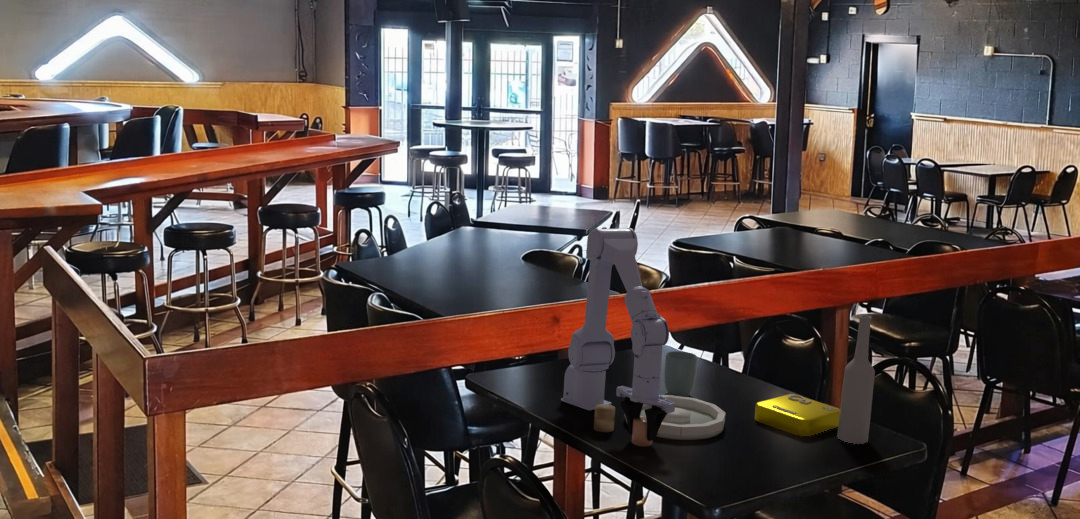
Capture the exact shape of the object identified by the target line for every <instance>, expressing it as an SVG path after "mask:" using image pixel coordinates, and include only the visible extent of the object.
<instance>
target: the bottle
mask: <svg viewBox="0 0 1080 519" xmlns="http://www.w3.org/2000/svg"><path fill="white" fill-rule="evenodd" d="M858 318H859V320H858V331H857V340H856V344H855V345H856V346H855V352H854V357H853V359H852V360H851V361H849V362H848V363H847V364H846V366H845V368H844V373H843V381H842V390H841V397H840V407H839V409H840V414H839V423H838V428H837V435H836V438H837V437H838V438H837V439H840V440H842V441H844V442H843V443H845V442H848V443H847V444H849V443H853V444H852V445H855V444H858V445H859V444H862V445H865V444H864V443H866V442H867V443H868V442H869V434H870V433H869V432H870V424H871V415H872V405H873V394H874V385H875V384H874V383H875V374H876V371H875V369H874V367H873V366H872V364H871V362H870V361H869V346H870V345H869V344H870V343H869V342H870V334H871V324H872V323H871V322H872V320H873V317H872V316H871V315H868V314H867V315H865V314H860V315H859V316H858ZM840 440H839V441H840ZM842 441H841V442H842ZM867 443H866V444H867Z"/></svg>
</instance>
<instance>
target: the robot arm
mask: <svg viewBox="0 0 1080 519" xmlns="http://www.w3.org/2000/svg"><path fill="white" fill-rule="evenodd" d="M586 240H587V241H586V251H585V252H586V255H585V258H586V260H589V270H588V282H587V290H586V291H587V292H586V304H585V313H584V324H583V326H582V327H580V328H578V329H577V330H575V331H574V332H573V333H572V335H571V339H570V344H569V346H568V350H567V353H568V354H567V355H568V360H569V363H570V364H569V366H567V368H566V369H565V372H564V378H563V379H564V381H563V397H561V399H560V401H561V402H564V403H567V404H569V405H571V406H572V405H573V406H575V407H578V408H580V409H584V410H586V411H592V410H594V411H595V406H596V405H598V404H609V405H612V402H611V401H608V400H605V390H606V371H607V370H608V369H609V366H610V365H612V364H613V362H614V359H615V356H616V349H615V345H614V344H615V337H614V336H613V334H612V332H610V330H609V331H608V329H607V318H608V310H609V300H610V290H611V279H612V278H611V277H612V268H613V265H614V267H615V269H616V271H617V273H618V275H619V277H620V280H621V281H622V284H623V287H624V288H625V291H626V294H625V296H624V303H625V306H626V310H627V313H628V315H629V318H630V322H631V324H632V325H631V329H630V339H631V343H632V346H631V347H632V353H633V354H634V355H633V356H634V357H633V358H634V359H633V372H632V374H633V375H632V385H631V386H632V387H628V386H624V385H621V386H617V387H616V391H615V392H616V393H615V396H616V397H618V398H621V397H622V398H624V399H623V400H622V401H621V402H620V407H621V408H622V410H623V412H624V414H625V416H626V417H625V416H624V417H625V420H626V419H627V422H626V424H627V423H628V424H627V427H628V428H627V429H628V432H629V434H630V435H632V431H633V419H634V418H636V417H640V414H641V410H642V407H643V404H646V405H649V406H652V408H649V409H646V410H645V414H646V419H647V440H648V441H652V440H653V441H654V440H656V439H657V437H656V436H657V433H658V430H659V428H660V425H661V423H662V421H663V420H664V418H665V416H666V415H667V414H668V413H672V412H675V403H674V402H671V401H669V400H668V399H666V398H664V397H662V396H661V394H660V387H661V386H660V384H661V371H662V358H663V346H665V345H667V344H668V341H669V338H670V329H669V325H668V321H667V320H666V319H665V318H664V317H663V316H662V315H661V314H660V313H658V311H657V309H656V306H655V304H654V303H655V302H654V300H653V297H652V295H651V291H650V290H649V289H647V288H646V287H644V286H643V284H642V279H641V275H640V270H639V267H638V264H637V258H636V255H637V252H638V247H639V242H638V241H639V240H638V236H637V233H636V232H635V230H634V229H633V228H631V227H627V228H596V227H595V228H593V229H592V230H591V231H590V232H589V233H588V235H587V239H586Z"/></svg>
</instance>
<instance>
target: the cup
mask: <svg viewBox="0 0 1080 519" xmlns="http://www.w3.org/2000/svg"><path fill="white" fill-rule="evenodd" d="M697 366H698V357H697V354H695V353H692V352H687V351H681V350H680V351H678V350H676V351H675V350H674V351H673V350H671V351H668V352H666V353H665V358H664V372H663V375H664V376H663V381H664V389H665V391H666V393H668V395H674V396H681V397H688V396H689V395H690V394H692V392H693V390H694V388H695V384H696V377H697Z"/></svg>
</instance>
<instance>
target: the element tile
mask: <svg viewBox="0 0 1080 519" xmlns="http://www.w3.org/2000/svg"><path fill="white" fill-rule="evenodd" d="M754 408H755V409H754V421H756V422H758V423H761V424H763V425H767V426H770V427H772V428H775V429H777V430H780V431H783V432H786V433H789V434H792V435H794V434H795V435H794V436H797V435H800V436H799V437H802V436H809V437H812V436H811V435H813V436H815V435H814V434H816V435H819V434H818V433H820V434H822V433H821V432H823V433H825V432H824V431H826V432H828V431H827V430H829V429H833V428H836V427H838V423H839V414H840V407H836V406H832V405H830V404H827V403H822V402H821V401H820V402H819V401H817V400H814V399H810V398H808V397H804V396H802V395H799V394H794V393H789V394H785V395H781V396H778V397H772V398H769V399H765V400H760V401H758V402H756V403H755V407H754ZM836 429H837V428H836ZM833 430H834V429H833ZM829 431H830V430H829Z"/></svg>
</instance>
